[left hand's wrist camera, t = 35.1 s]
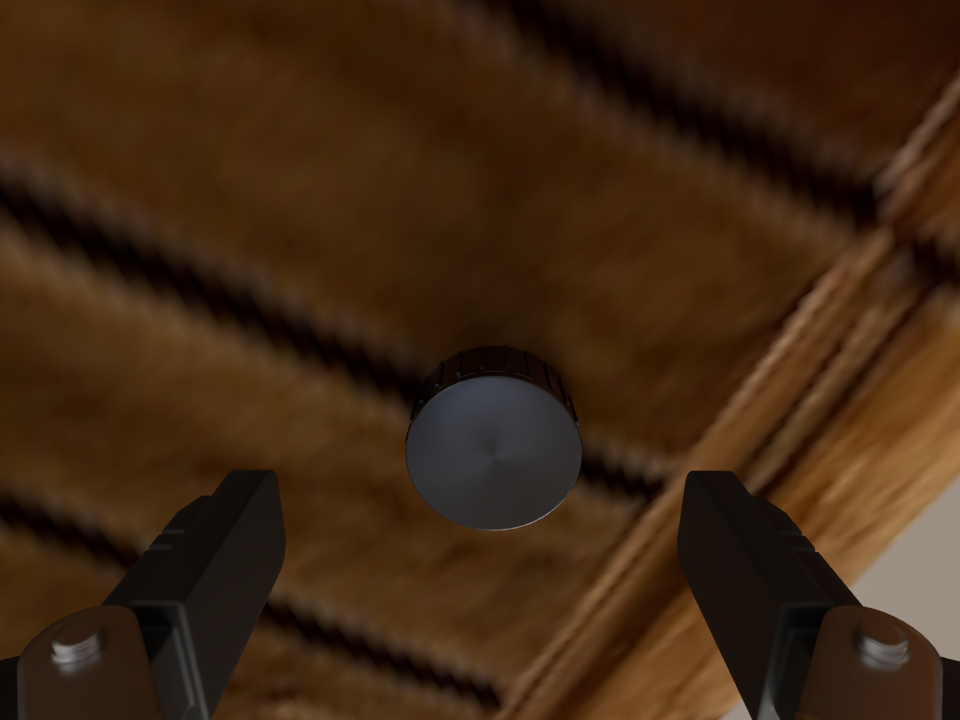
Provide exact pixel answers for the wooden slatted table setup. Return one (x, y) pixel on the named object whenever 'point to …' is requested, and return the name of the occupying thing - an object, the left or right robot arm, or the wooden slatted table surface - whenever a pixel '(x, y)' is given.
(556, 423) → the cap
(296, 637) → the wooden slatted table surface
